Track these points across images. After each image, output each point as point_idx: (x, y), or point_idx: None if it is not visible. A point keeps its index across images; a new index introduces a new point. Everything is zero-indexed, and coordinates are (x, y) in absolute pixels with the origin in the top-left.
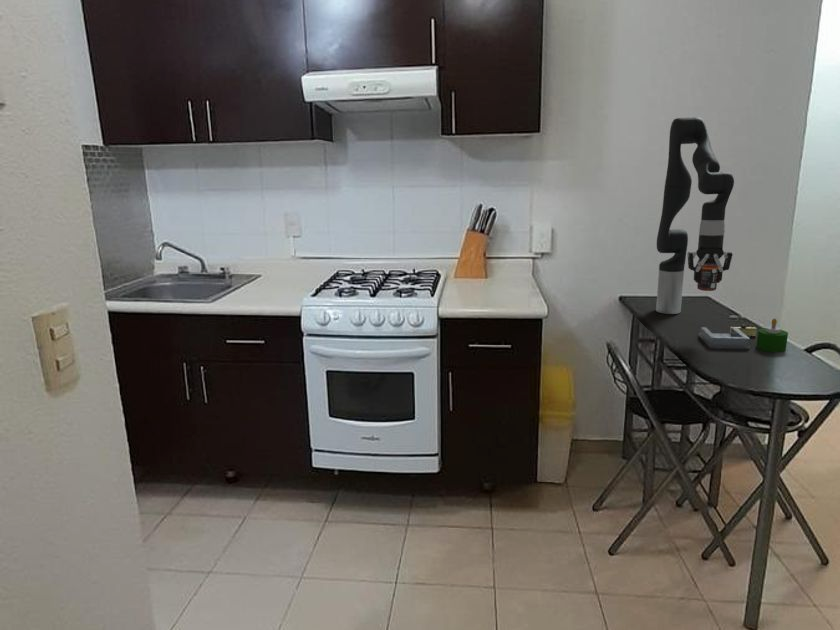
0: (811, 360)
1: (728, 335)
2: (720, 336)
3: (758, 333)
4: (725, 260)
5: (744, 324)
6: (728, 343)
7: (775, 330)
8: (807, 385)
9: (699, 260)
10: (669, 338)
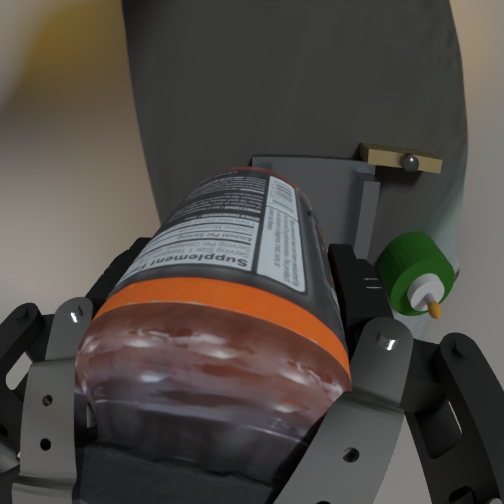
0: (423, 324)
1: (344, 181)
2: (314, 193)
3: (391, 282)
4: (463, 461)
5: (416, 159)
6: None
7: (420, 309)
8: None
9: (45, 419)
10: (159, 191)
